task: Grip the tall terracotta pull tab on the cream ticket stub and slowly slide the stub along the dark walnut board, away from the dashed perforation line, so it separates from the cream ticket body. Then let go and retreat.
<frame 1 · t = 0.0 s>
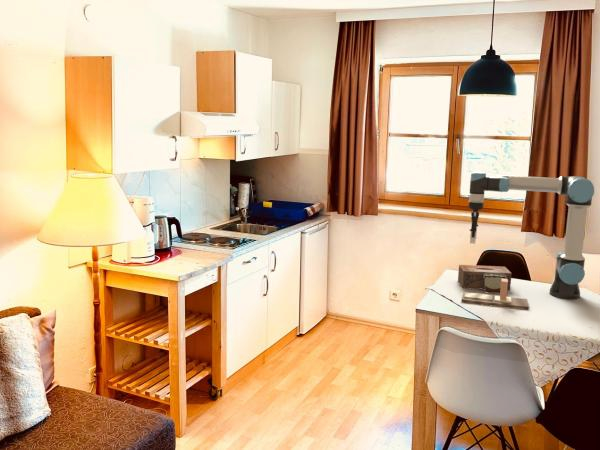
hand: (473, 240, 320), 28 cm above the table, fingers open, 13 cm apart
food container: (492, 291, 327), on the table
stub: (503, 290, 305), point 7 cm above the table, slide at 0.0 cm
ticket board: (494, 302, 308), on the table
tissue box cover: (483, 286, 338), on the table
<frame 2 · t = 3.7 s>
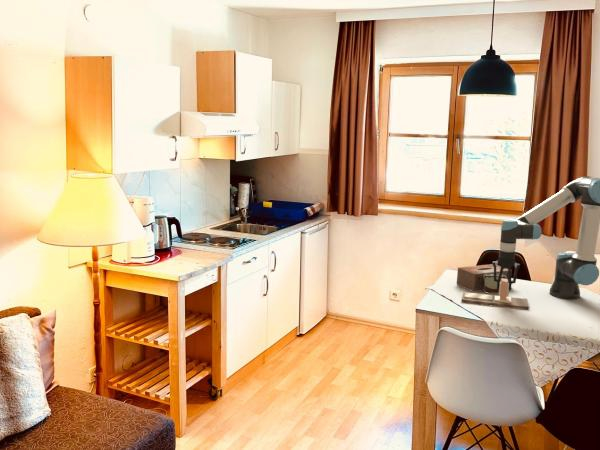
hand: (503, 295, 306), 4 cm above the table, fingers closed on stub, 3 cm apart
stub: (503, 290, 305), point 7 cm above the table, slide at 0.0 cm, touching gripper
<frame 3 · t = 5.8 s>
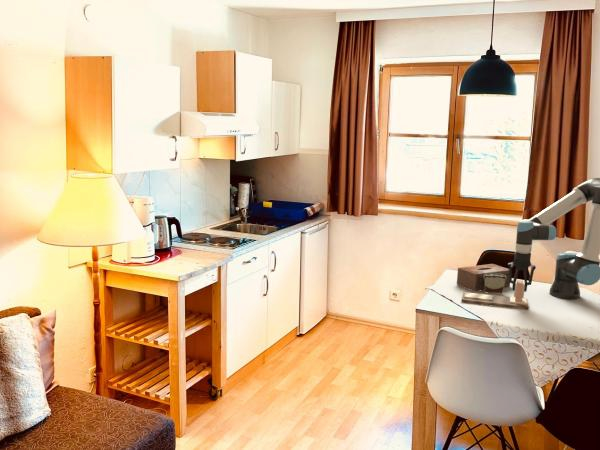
hand: (518, 297, 304), 4 cm above the table, fingers closed on stub, 3 cm apart
stub: (519, 291, 303), point 7 cm above the table, slide at 7.4 cm, touching gripper
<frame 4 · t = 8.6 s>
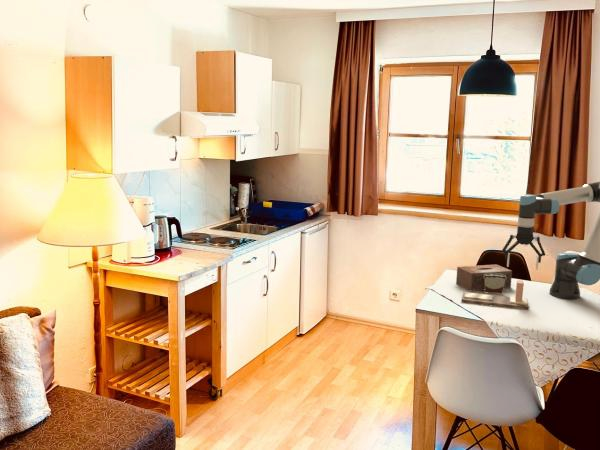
hand: (522, 267, 301), 19 cm above the table, fingers open, 13 cm apart
stub: (519, 291, 303), point 7 cm above the table, slide at 7.5 cm
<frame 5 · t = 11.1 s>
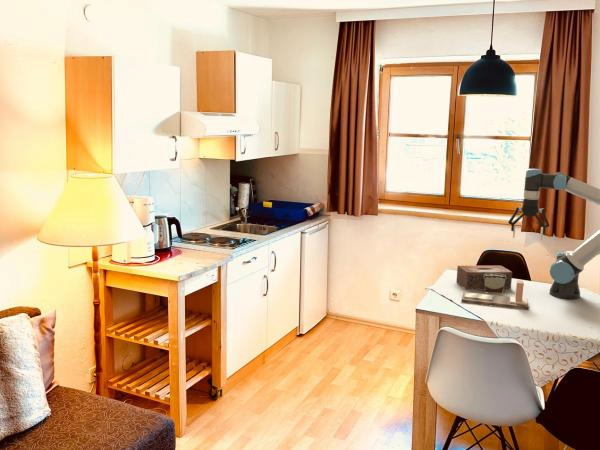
hand: (527, 238, 317), 31 cm above the table, fingers open, 13 cm apart
at the end: stub slide at 7.5 cm; food container moved 0.2 cm from its start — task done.
